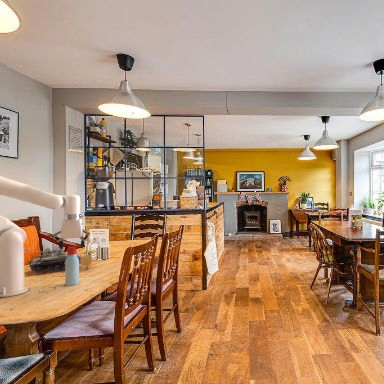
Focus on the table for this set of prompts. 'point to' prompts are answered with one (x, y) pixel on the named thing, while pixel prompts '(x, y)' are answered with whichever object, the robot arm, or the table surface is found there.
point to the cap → (71, 250)
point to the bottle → (72, 270)
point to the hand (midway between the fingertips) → (72, 248)
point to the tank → (49, 261)
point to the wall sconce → (87, 256)
